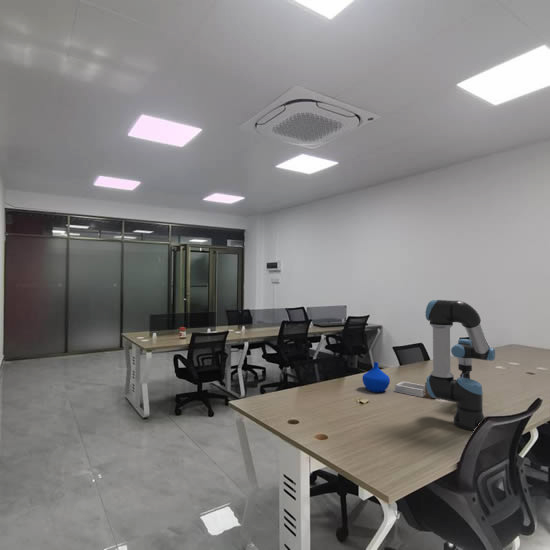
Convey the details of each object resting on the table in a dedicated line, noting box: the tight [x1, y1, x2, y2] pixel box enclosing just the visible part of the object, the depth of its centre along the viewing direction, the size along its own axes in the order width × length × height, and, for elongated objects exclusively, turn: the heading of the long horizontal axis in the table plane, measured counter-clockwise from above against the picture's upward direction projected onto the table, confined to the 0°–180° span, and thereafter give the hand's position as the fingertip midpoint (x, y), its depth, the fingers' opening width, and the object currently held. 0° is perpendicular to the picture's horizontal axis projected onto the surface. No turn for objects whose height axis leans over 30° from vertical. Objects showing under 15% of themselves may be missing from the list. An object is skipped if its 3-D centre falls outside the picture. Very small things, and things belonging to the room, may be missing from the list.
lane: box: [394, 381, 425, 398], centre depth 244 cm, size 19×13×4 cm
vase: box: [362, 361, 391, 393], centre depth 248 cm, size 18×18×19 cm
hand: (465, 400), depth 222 cm, fingers open, 10 cm apart
